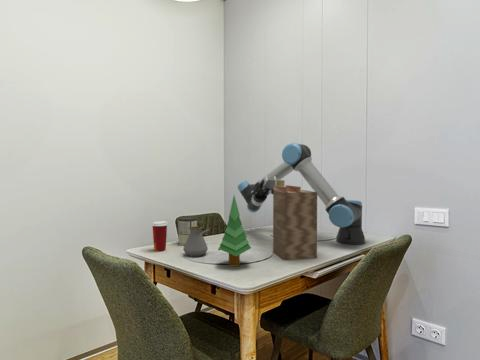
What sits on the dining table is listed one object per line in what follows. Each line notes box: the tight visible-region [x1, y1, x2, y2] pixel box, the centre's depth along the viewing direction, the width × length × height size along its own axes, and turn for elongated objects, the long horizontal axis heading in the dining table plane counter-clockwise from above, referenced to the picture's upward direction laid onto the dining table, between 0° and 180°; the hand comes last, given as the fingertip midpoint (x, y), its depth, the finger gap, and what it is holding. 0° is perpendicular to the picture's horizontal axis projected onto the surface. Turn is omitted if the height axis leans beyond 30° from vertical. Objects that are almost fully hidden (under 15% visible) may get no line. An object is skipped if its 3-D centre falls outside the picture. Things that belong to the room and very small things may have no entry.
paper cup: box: [151, 220, 168, 252], centre depth 168 cm, size 8×8×14 cm
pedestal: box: [272, 184, 318, 261], centre depth 158 cm, size 16×14×32 cm
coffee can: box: [177, 216, 198, 247], centre depth 182 cm, size 10×10×14 cm
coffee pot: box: [182, 220, 226, 257], centre depth 162 cm, size 21×12×15 cm, turn 119°
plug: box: [261, 178, 285, 189], centre depth 174 cm, size 4×22×4 cm, turn 15°
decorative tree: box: [217, 195, 252, 267], centre depth 142 cm, size 14×16×30 cm
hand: (271, 178), depth 177 cm, fingers closed on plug, 4 cm apart
